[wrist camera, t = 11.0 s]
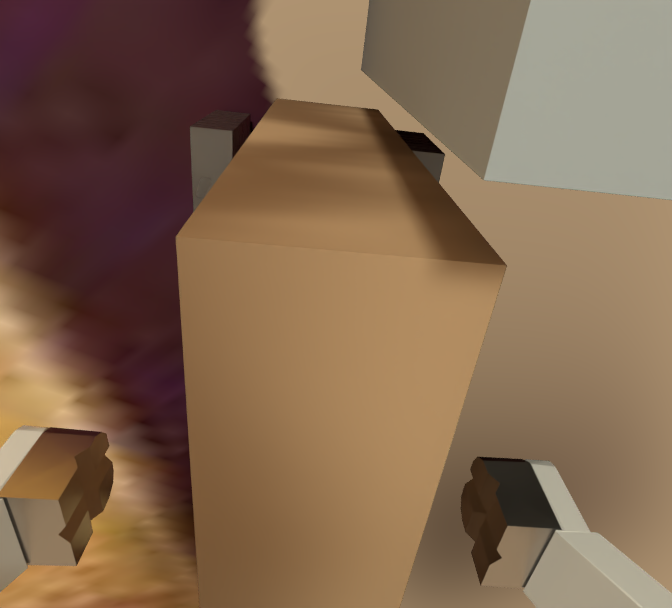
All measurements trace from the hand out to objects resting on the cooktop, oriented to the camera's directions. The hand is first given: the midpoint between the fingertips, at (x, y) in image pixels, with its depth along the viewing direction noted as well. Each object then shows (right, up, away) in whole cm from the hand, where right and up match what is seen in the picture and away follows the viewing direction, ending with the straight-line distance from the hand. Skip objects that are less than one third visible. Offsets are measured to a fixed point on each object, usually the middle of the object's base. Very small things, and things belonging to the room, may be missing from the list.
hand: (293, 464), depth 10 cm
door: (0, +4, +7) cm, 8 cm away
